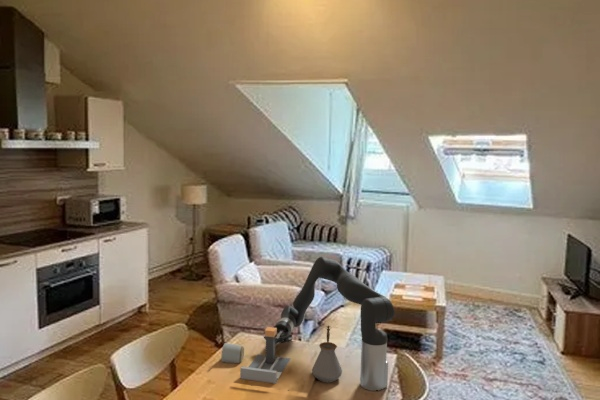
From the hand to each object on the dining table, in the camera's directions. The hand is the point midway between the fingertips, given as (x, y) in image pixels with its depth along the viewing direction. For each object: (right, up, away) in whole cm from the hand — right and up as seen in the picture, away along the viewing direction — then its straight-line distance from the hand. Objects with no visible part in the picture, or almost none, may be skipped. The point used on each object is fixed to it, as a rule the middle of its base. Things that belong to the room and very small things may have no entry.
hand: (271, 344), depth 200 cm
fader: (-1, -7, -1) cm, 7 cm away
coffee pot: (+22, -9, -5) cm, 24 cm away
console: (-2, -9, -6) cm, 11 cm away
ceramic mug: (-16, -8, +2) cm, 18 cm away
